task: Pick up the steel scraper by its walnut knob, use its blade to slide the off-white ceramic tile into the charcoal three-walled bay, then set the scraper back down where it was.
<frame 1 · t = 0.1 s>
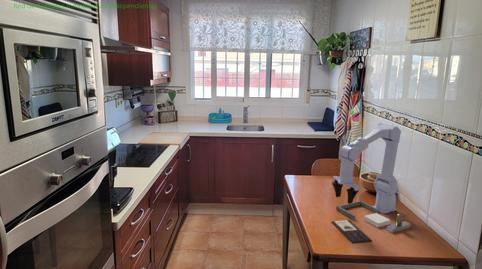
hand: (343, 199, 152), 10 cm above the table, tool pointing down, fingers open, 7 cm apart
chocolate bar: (350, 232, 144), on the table
bay: (357, 211, 164), on the table
tile: (376, 222, 154), on the table
scraper: (398, 229, 148), on the table
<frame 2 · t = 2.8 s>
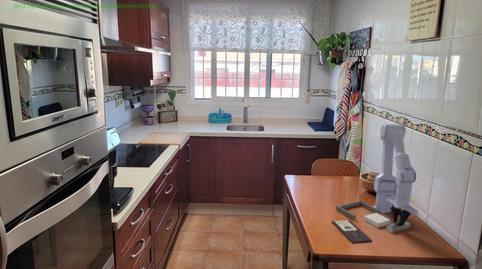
hand: (399, 223, 148), 2 cm above the table, tool pointing down, fingers closed on scraper, 2 cm apart
scraper: (398, 228, 148), on the table, touching gripper
everything else where it was.
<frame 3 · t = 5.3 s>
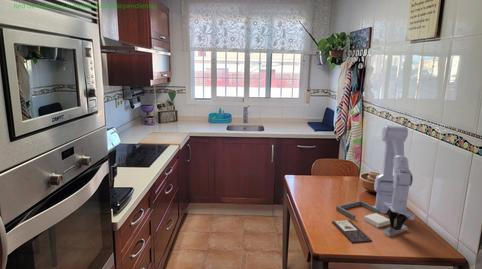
hand: (395, 227, 144), 2 cm above the table, tool pointing down, fingers closed on scraper, 2 cm apart
scraper: (395, 232, 145), on the table, touching gripper
everything else where it was.
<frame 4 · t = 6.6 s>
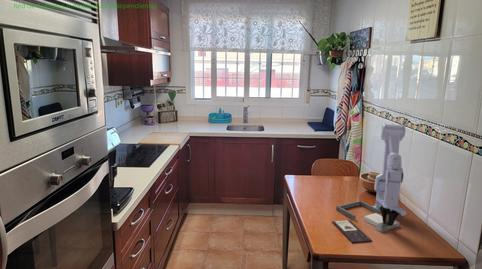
hand: (387, 223, 148), 2 cm above the table, tool pointing down, fingers closed on scraper, 2 cm apart
tile: (376, 223, 154), on the table, touching gripper
scraper: (387, 227, 148), on the table, touching gripper
everything else where it was.
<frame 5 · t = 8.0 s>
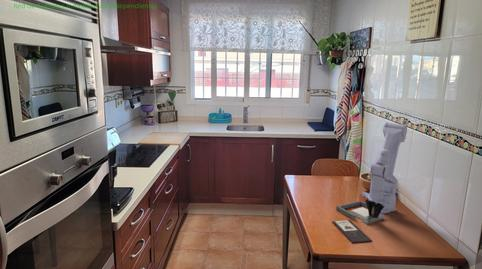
hand: (373, 216, 155), 2 cm above the table, tool pointing down, fingers closed on scraper, 2 cm apart
tile: (363, 216, 160), on the table, touching gripper, scraper
scraper: (373, 220, 155), on the table, touching gripper, tile
everything else where it was.
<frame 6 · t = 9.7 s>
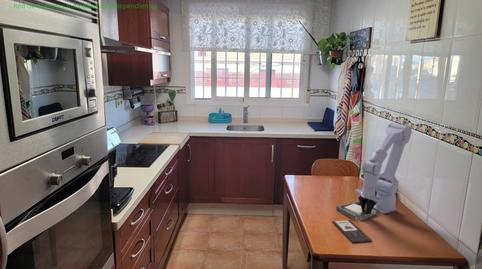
hand: (366, 212, 159), 2 cm above the table, tool pointing down, fingers closed on scraper, 2 cm apart
tile: (355, 212, 164), on the table, touching gripper
scraper: (366, 216, 159), on the table, touching gripper
everything else where it was.
when the fingers open (3 cm above the table, at t = 12.9 s): scraper stays where it is, on the table.
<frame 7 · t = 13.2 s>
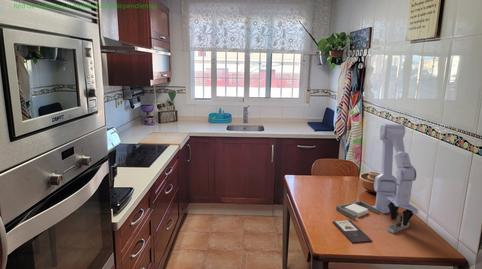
hand: (399, 222, 147), 3 cm above the table, tool pointing down, fingers open, 5 cm apart
tile: (355, 212, 163), on the table
scraper: (398, 229, 148), on the table
everything else where it was.
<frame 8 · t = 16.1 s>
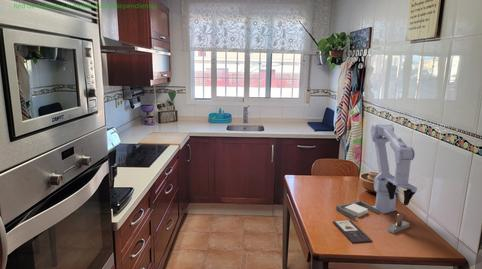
hand: (398, 201, 151), 10 cm above the table, tool pointing down, fingers open, 7 cm apart
nothing on the table moved.
at the end: tile 1.6 cm from the target spot on the bay, point -0.5 cm above the bay's base; the gripper is holding nothing; scraper inside the target area (0.1 cm from its centre), on the table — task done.
